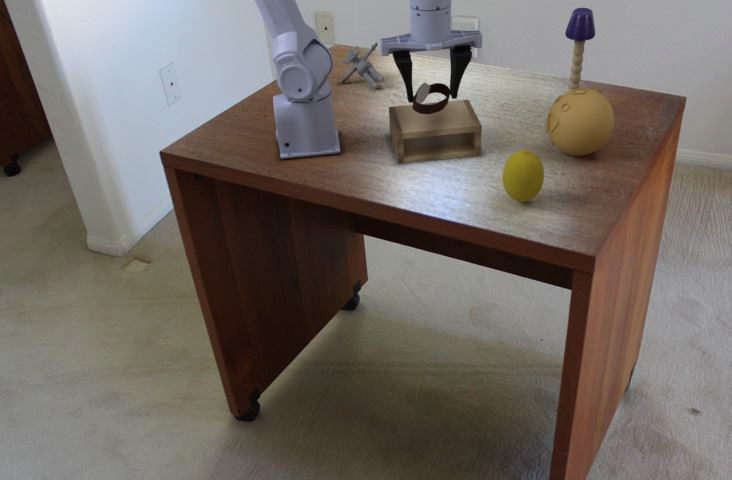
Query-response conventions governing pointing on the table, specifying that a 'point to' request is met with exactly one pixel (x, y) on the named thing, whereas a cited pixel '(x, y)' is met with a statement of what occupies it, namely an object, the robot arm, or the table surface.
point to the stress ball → (580, 121)
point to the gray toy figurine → (362, 66)
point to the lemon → (523, 175)
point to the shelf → (435, 132)
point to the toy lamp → (579, 40)
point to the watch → (424, 92)
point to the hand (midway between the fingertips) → (431, 98)
